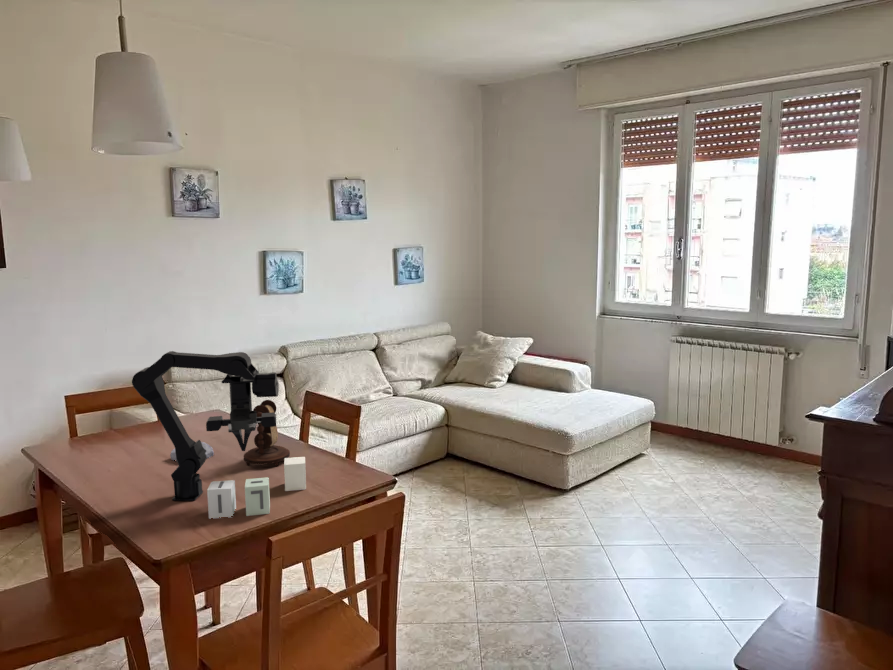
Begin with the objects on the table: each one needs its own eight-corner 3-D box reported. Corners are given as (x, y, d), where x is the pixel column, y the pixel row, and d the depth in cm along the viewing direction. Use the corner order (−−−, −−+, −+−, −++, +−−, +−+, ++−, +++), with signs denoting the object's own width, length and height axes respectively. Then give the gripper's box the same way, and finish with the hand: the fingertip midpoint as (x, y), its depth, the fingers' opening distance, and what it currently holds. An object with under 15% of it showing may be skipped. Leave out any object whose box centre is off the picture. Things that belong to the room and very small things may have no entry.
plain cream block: (285, 491, 188) (284, 464, 186) (285, 483, 193) (284, 458, 192) (306, 489, 189) (305, 463, 188) (305, 481, 195) (305, 456, 194)
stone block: (217, 461, 219) (200, 449, 224) (217, 448, 217) (200, 437, 223) (185, 472, 210) (168, 460, 215) (185, 459, 208) (168, 447, 214)
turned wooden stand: (281, 469, 205) (279, 408, 202) (236, 468, 206) (233, 407, 203) (295, 453, 220) (293, 397, 217) (253, 453, 221) (250, 396, 218)
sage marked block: (246, 516, 171) (244, 487, 169) (247, 507, 177) (245, 478, 175) (269, 513, 172) (268, 484, 171) (269, 504, 178) (268, 476, 177)
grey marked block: (208, 519, 169) (206, 489, 168) (213, 509, 175) (211, 480, 174) (232, 517, 170) (230, 488, 169) (236, 508, 176) (234, 479, 175)
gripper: (202, 406, 171) (205, 463, 174) (274, 402, 176) (277, 457, 178) (206, 397, 182) (210, 450, 184) (275, 393, 186) (277, 444, 189)
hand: (243, 450), depth 184 cm, fingers closed
